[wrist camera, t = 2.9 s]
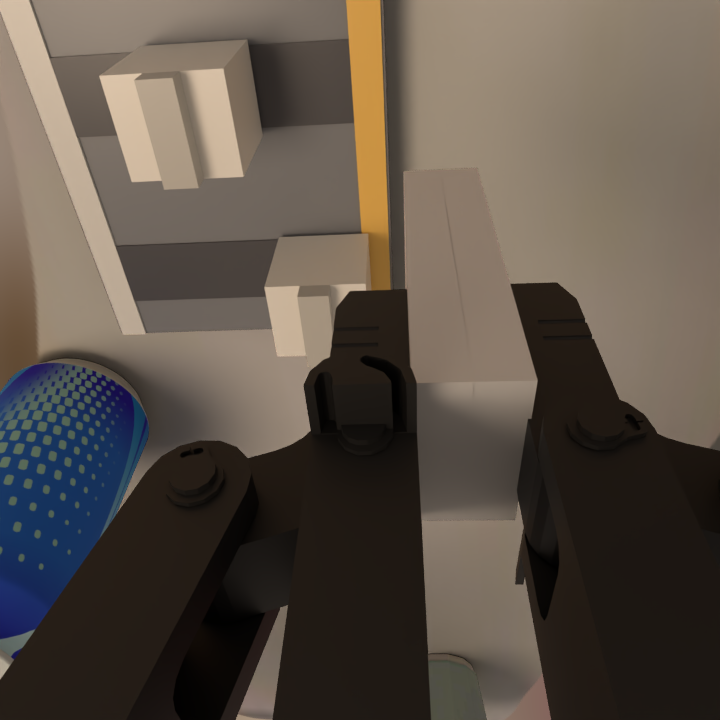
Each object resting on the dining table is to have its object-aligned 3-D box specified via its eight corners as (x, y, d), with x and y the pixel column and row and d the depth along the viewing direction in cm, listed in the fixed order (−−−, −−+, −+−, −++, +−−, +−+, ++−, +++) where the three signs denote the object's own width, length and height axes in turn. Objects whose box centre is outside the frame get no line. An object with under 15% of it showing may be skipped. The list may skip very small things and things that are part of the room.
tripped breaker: (165, 140, 25) (124, 191, 21) (140, 46, 22) (89, 82, 19) (262, 135, 24) (239, 186, 21) (247, 39, 22) (217, 75, 18)
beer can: (12, 426, 39) (-164, 688, 26) (17, 328, 34) (-197, 594, 21) (144, 462, 41) (37, 723, 28) (166, 374, 36) (49, 644, 23)
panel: (134, 311, 33) (81, 403, 27) (-88, -314, 19) (-297, -395, 13) (393, 302, 32) (395, 396, 26) (371, -362, 18) (364, -471, 12)
